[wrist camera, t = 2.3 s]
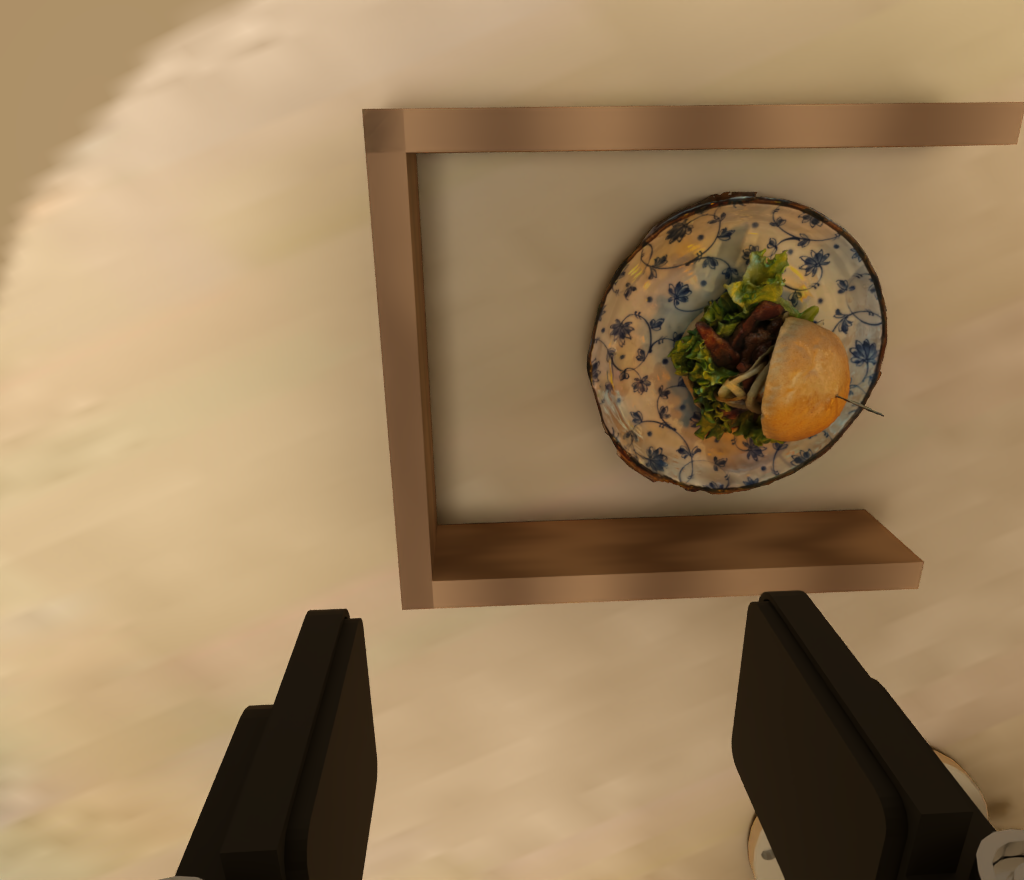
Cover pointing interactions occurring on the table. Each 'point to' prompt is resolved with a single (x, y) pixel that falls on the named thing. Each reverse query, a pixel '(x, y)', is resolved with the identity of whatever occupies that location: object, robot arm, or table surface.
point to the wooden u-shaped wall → (626, 541)
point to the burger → (736, 343)
